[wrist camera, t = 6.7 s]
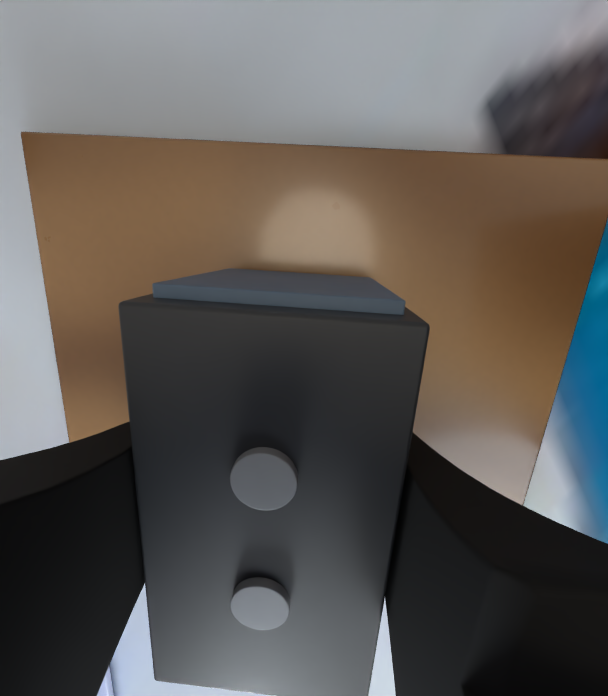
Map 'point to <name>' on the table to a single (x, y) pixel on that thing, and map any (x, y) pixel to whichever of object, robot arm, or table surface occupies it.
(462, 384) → the cork mat
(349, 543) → the speaker
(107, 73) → the table surface
